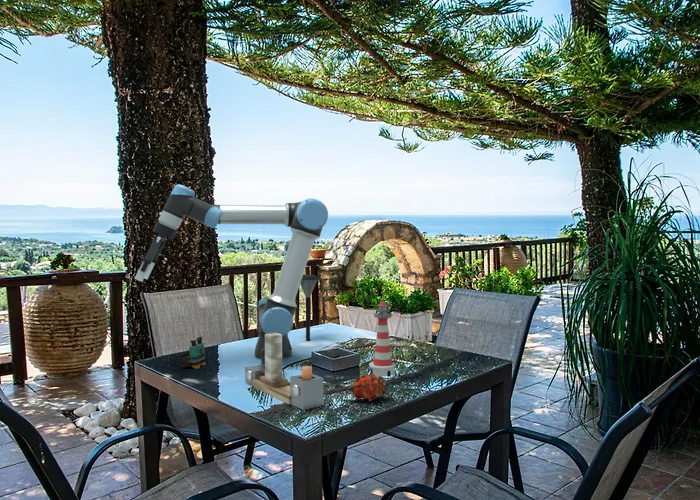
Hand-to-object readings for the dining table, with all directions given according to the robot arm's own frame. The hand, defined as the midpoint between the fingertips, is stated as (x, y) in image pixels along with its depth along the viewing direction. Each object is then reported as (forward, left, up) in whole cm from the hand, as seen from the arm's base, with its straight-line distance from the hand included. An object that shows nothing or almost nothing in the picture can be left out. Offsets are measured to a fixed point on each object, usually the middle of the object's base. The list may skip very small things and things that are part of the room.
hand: (141, 279), depth 195 cm
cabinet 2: (-27, +68, -33) cm, 80 cm away
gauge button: (-27, +68, -28) cm, 78 cm away
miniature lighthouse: (-65, +57, -33) cm, 93 cm away
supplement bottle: (-35, +32, -33) cm, 58 cm away
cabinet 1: (-27, +39, -33) cm, 57 cm away
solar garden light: (-77, -9, -33) cm, 84 cm away
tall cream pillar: (-27, +48, -32) cm, 63 cm away
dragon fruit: (-44, +75, -33) cm, 93 cm away
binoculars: (-17, +4, -33) cm, 38 cm away
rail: (-27, +53, -33) cm, 68 cm away
